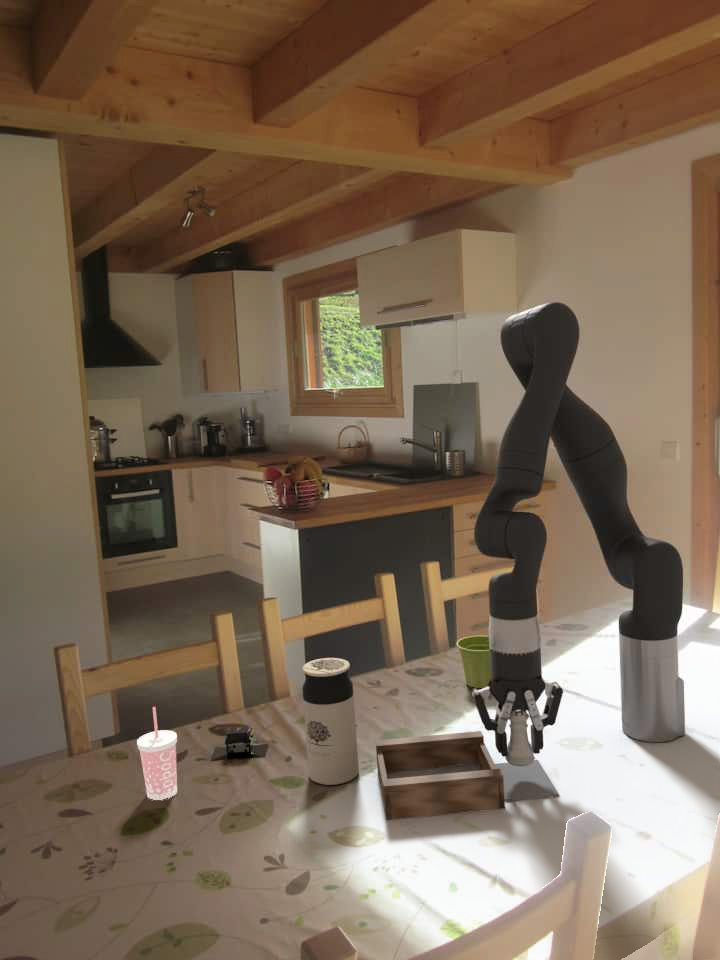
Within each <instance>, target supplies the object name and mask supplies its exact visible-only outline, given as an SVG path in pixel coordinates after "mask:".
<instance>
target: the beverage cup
mask: <svg viewBox="0 0 720 960" xmlns="http://www.w3.org/2000/svg"><path fill="white" fill-rule="evenodd" d="M156 707H157V706H153V707H152V714H153V715H152V716H153V726H154V731H151V732H148V733H145V734H143V735H141V736H139V738H138V739H136V743H137V744H136V745H137V749H138V750H139V753H140V759H141V760H140V761H141V766H142V772H143V777H144V778H143V779H144V783H145V792H146V795H147V799H149V798H150V799H153V800H161V801H164V800H163V799H166V798H168V799H171V798H173V797H174V796H176V795H177V793H178V773H177V772H178V771H177V742H178V735H177V734H178V733H177V732H175V731H174V730H170V729H169V730H168V729H164V730H163V729H160V730H159V729H158V718H157V709H156ZM172 796H173V797H172ZM170 797H171V798H170ZM150 799H149V800H150ZM153 800H152V801H153ZM166 800H167V799H166Z"/></svg>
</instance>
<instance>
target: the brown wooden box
mask: <svg viewBox="0 0 720 960" xmlns="http://www.w3.org/2000/svg"><path fill="white" fill-rule="evenodd" d="M484 739H485V738H484V734H483V732H482V731H481V730H478V731H477V730H476V731H467V732H465V731H464V732H454V733H443V734H432V735H423V736H422V735H421V736H410V737H401V738H398V737H397V738H387V739H377V740H375V750H376V764H377V765H376V766H377V767H376V768H377V774H378V779H379V780H378V781H379V786H380V792H381V798H382V804H383V810H384V817H385V820H386V821H389V820H392V821H393V820H401V819H410V818H411V819H413V818H423V817H430V816H431V817H432V816H433V817H434V816H443V815H444V816H445V815H453V814H464V813H474V812H475V813H476V812H485V811H495V810H505V809H506V803H505V802H506V801H505V800H504V780H503V774H502V772H501V770H500V769H497V768H496V766H495V764H496V763H495V762H494V760H493V758H492V756H491V754H490V752H489V749H488V748H487V746H486V744H485V740H484ZM475 764H478V765H479V767H480V770H471V771H461V772H460V771H459V772H449V773H448V772H447V773H439V774H430V775H429V774H428V775H418V776H406V777H405V776H404V777H395V778H388V775H387V773H388V772H400V771H411V770H412V771H413V770H421V769H432V768H434V769H435V768H442V767H455V766H465V765H466V766H467V765H475Z"/></svg>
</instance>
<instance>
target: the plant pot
mask: <svg viewBox="0 0 720 960" xmlns="http://www.w3.org/2000/svg"><path fill="white" fill-rule="evenodd" d="M456 647H457V648H458V651H459V654H460V655H461V661H462V666H463V672H464V677H465V684H467V685H469V686H468V687H470V686H471V687H470V688H472V687H474V688H473V689H475V688H476V689H477V688H485V687H488V683H489V682H490V679H491V668H490V647H489V635H471V636H466V637H462V638H460V639H458V640H457V641H456Z"/></svg>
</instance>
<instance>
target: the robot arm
mask: <svg viewBox="0 0 720 960" xmlns="http://www.w3.org/2000/svg"><path fill="white" fill-rule="evenodd" d="M499 337H500V344H501V349H502V352H503V354H504V356H505V359H506V361H507V363H508V365H509V367H510V368H511V370H512V371H513V373H514V375H515V376H516V378H517V379H518V382H519V383H520V384H521V386H522V388H523V389H524V391H525V392H524V395H523V396H522V398H521V400H520V402H519V403H518V406H517V408H516V409H515V411H514V413H513V415H512V417H511V418H510V420H509V422H508V424H507V427H506V428H505V430H504V432H503V433H504V434H503V436H502V439H501V442H500V446H499V452H498V458H497V463H496V469H495V470H496V471H495V476H494V480H493V482H492V485H491V487H490V488H489V491H488V493H487V496H486V498H485V500H484V502H483V504H482V506H481V509H480V511H479V513H478V514H477V516H476V517H477V518H476V519H475V520H476V521H475V525H474V529H473V537H474V542H475V546H476V548H477V550H478V551H479V552H480V553H481V554H482V555H484V556H486V557H489V558H499V559H509V560H514V565H513V569H512V571H506V572H500V573H497V574H494V575H493V576H492V577H491V578H490V579H489V581H488V602H489V603H488V605H489V607H488V608H489V609H488V610H489V620H488V621H489V623H488V636H489V647H490V668H491V679H490V682H489V683H488V687H485V688H482V689H477V688H473V689H471V696H472V698H473V701H474V704H475V707H476V710H477V712H478V716H479V718H480V720H481V723H482V725H483V726H484V728H485V730H486V731H488V732H489V731H494V739H495V748H496V750H497V752H498V753H499V754H501V756H502V757H503V758H505V756H507V755H508V754H507V746H508V735H507V732H506V728H507V724H508V721H510V720H509V717H510V713H511V712H512V711H517V710H524V711H525V710H526V712H527V714H528V715H529V719H530V721H531V723H532V724H531V725H530V740H531V741H530V744H531V747H532V748H533V750H534V755H536V754H537V755H538V754H540V752H541V750H543V748H544V728H546V727H547V726H548V727H549V726H553V725H555V724H556V721H557V716H558V712H559V709H560V705H561V702H562V697H563V694H564V689H563V688H562V687H561V686H560V684H559V683H558V682H556V681H553V682H551V683H550V682H546V681H545V680H544V679H543V676H542V675H543V672H542V654H541V652H542V650H541V643H542V636H541V629H540V622H539V615H538V597H537V596H538V594H537V587H538V581H539V578H540V577H539V576H540V571H541V565H542V563H543V562H542V561H543V557H544V554H545V552H546V551H545V550H546V546H547V540H548V536H547V535H548V533H547V528H546V525H545V523H544V521H543V520H542V518H541V517H540V516H539V515H537V514H536V513H534V512H529V511H515V510H514V508H515V507H516V505H517V504H518V503H519V502H521V501H525V500H528V499H533V498H536V497H538V495H540V493H541V492H542V491H541V490H542V487H543V483H544V476H545V469H546V464H547V463H546V462H547V457H548V450H549V445H550V440H551V442H552V443H553V446H554V448H555V451H556V452H557V455H558V457H559V459H560V462H561V464H562V465H563V468H564V470H565V472H566V474H567V477H568V478H569V480H570V483H571V484H572V486H573V487H574V490H575V492H576V494H577V496H578V499H579V501H580V502H581V505H582V507H583V509H584V511H585V513H586V515H587V517H588V519H589V521H590V523H591V525H592V528H593V531H594V534H595V537H596V539H597V543H598V545H599V548H600V550H601V554H602V557H603V559H604V563H605V565H606V568H607V570H608V572H609V574H610V576H611V577H612V579H613V580H614V581H615V582H616V583H617V584H619V585H620V586H622V587H624V588H626V589H628V590H631V591H632V609H629V610H626V611H624V612H622V613H621V614H620V615H619V617H618V641H619V645H618V646H619V670H620V671H619V672H620V676H619V677H620V702H621V726H622V727H621V728H622V729H621V730H622V732H623V733H624V734H625V735H627V737H631V738H633V739H634V740H639V741H641V742H642V741H643V742H649V743H664V742H669V741H670V742H671V741H673V740H676V739H677V738H679V737H682V736H683V737H684V736H686V715H685V714H686V713H685V711H686V710H685V709H686V708H685V707H686V706H685V682H684V679H682V677H680V676H679V674H680V673H679V648H678V647H679V646H678V645H679V644H678V626H679V622H680V620H681V617H682V614H683V598H684V594H683V593H684V567H683V560H682V556H681V554H680V552H679V551H678V549H677V547H675V545H673V544H671V543H669V542H666V541H665V540H661V539H657V538H653V537H652V538H651V537H648V536H646V535H644V534H643V532H642V531H641V529H640V527H639V526H638V524H637V522H636V519H635V518H634V515H633V513H632V511H631V509H630V506H629V503H628V494H627V493H628V466H627V462H626V459H625V455H624V453H623V451H622V449H621V447H620V444H619V442H618V440H617V438H616V436H615V433H614V431H613V429H612V428H611V426H610V425H609V423H608V422H607V420H606V419H604V418H603V417H602V416H601V415H600V414H599V413H598V412H597V411H596V410H594V409H593V407H591V406H590V405H589V404H588V403H587V402H585V401H584V400H582V399H581V398H580V397H579V396H578V395H577V394H576V393H575V392H573V390H572V389H571V388H570V387H569V386H568V385H567V381H568V379H569V375H570V372H571V370H572V366H573V363H574V361H575V357H576V354H577V351H578V348H579V347H578V346H579V342H580V325H579V320H578V318H577V316H576V314H575V313H574V311H573V310H572V309H571V307H569V306H568V305H567V304H565V303H562V302H560V301H551V302H547V303H543V304H540V305H537V306H534V307H532V308H529V309H526V310H524V311H521V312H517V313H516V314H513V315H511V316H509V317H508V318H507V319H506V320H505V321H504V322H503V324H502V327H501V329H500V336H499ZM513 510H514V511H513ZM544 691H545V693H544ZM543 693H544V694H545V696H546V701H545V706H544V710H543V713H542V714H541V713H540V710H539V707H538V706H537V702H538V700H539V699H540V697H541V696H542V694H543ZM490 696H492V697H493V698H494V699H495V701H496V702H497V703H496V708H495V716H494V719H493V718H491V716H490V714H489V711H488V709H487V704H488V703H489V697H490Z"/></svg>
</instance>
